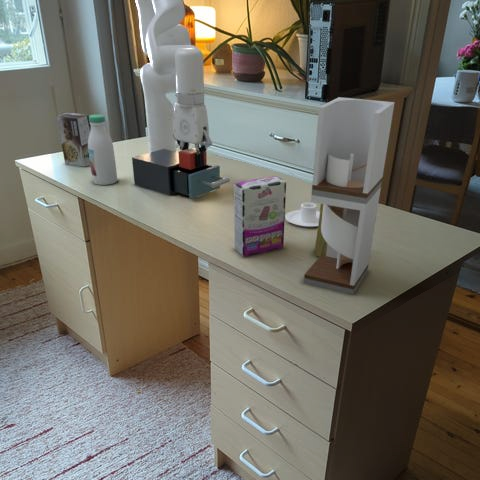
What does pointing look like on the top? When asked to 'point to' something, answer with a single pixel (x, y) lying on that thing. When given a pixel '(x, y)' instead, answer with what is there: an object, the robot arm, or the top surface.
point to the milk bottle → (101, 152)
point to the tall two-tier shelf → (348, 187)
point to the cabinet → (155, 170)
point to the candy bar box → (259, 215)
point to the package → (189, 158)
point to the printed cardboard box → (74, 138)
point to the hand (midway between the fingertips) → (193, 164)
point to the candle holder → (304, 215)
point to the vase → (320, 238)
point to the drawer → (196, 180)
